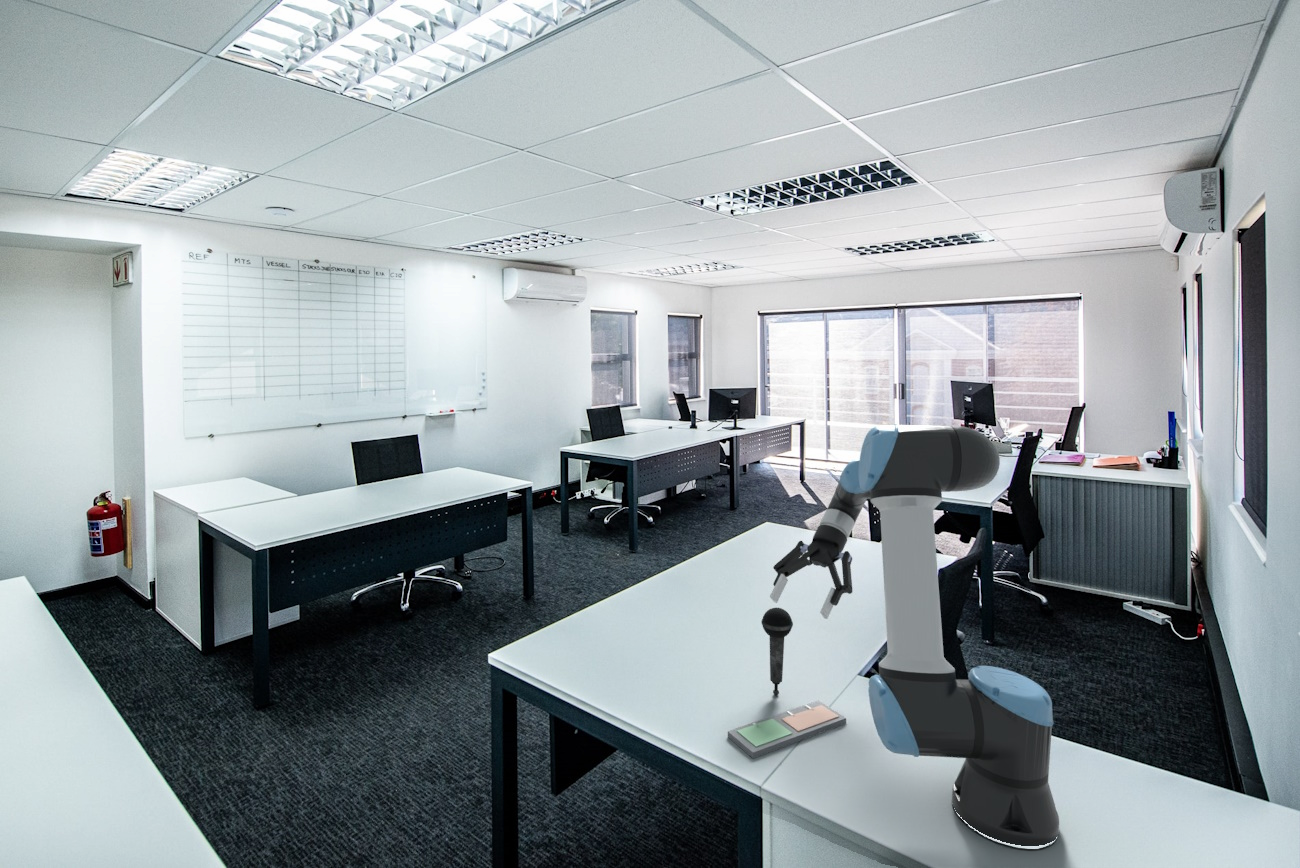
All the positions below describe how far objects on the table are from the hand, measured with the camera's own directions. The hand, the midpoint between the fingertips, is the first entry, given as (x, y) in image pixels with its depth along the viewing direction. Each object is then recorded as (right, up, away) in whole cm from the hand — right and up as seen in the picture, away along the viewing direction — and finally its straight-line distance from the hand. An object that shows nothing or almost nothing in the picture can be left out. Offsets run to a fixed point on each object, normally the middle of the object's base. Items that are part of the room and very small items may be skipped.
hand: (797, 607), depth 146 cm
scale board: (-6, -20, -19) cm, 28 cm away
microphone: (-6, -19, -5) cm, 20 cm away
